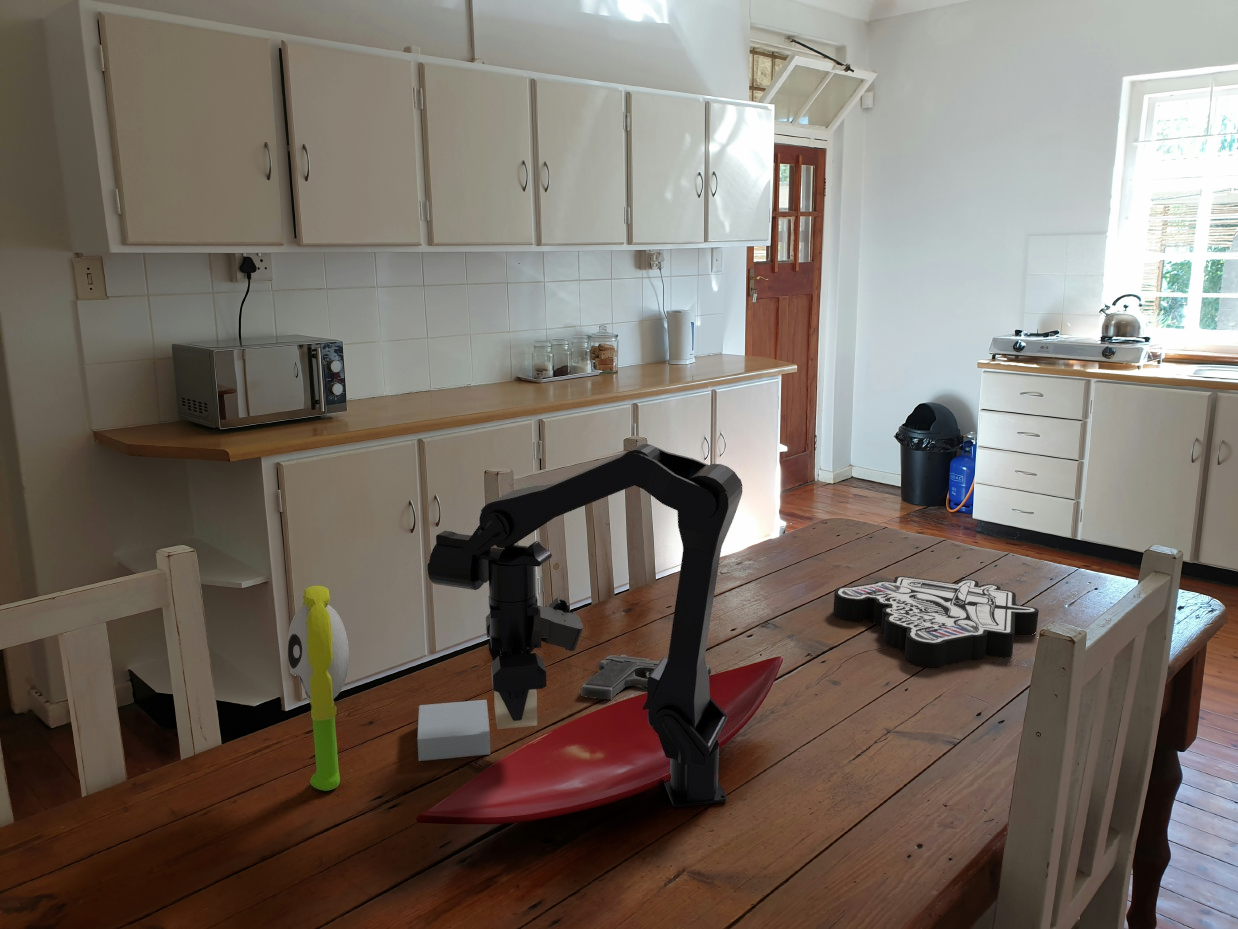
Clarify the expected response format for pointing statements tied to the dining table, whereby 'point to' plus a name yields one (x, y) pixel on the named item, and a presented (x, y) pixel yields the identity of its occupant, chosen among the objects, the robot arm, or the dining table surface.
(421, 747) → the base
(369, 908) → the dining table surface
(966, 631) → the decorative sign
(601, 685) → the handgun
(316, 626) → the toy
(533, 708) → the cube
